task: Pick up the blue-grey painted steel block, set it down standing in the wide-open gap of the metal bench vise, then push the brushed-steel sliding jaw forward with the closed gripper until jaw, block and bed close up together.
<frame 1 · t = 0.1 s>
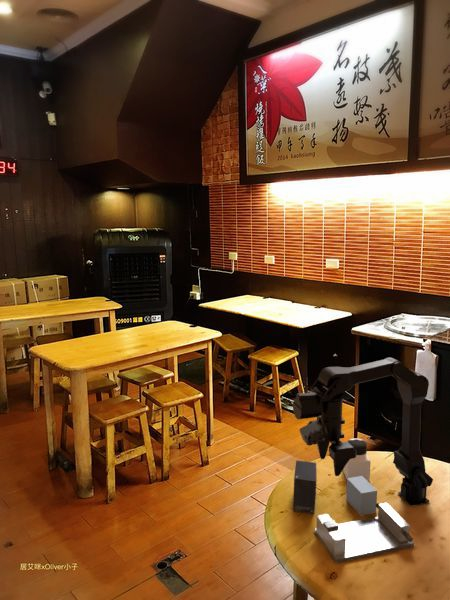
hand: (329, 467, 132), 14 cm above the table, fingers open, 9 cm apart
sliding jaw: (393, 521, 126), point 3 cm above the table, slide at 0.0 cm
medicine bottle: (355, 476, 155), on the table
small box: (304, 503, 141), on the table
vise: (363, 539, 125), on the table
block: (360, 506, 139), on the table
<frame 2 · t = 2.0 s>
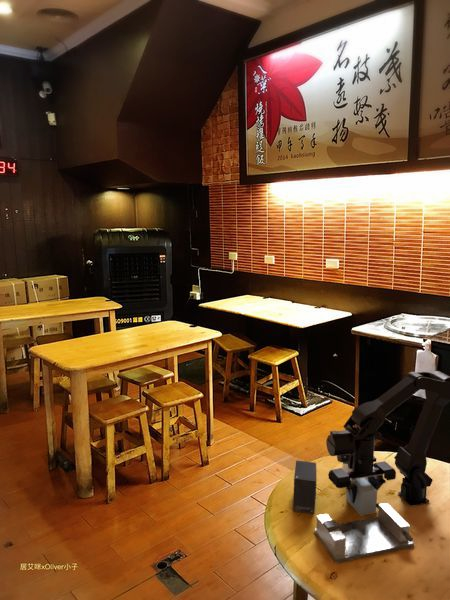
hand: (361, 501, 138), 2 cm above the table, fingers closed on block, 5 cm apart
block: (360, 506, 139), on the table, touching gripper
everything else where it was.
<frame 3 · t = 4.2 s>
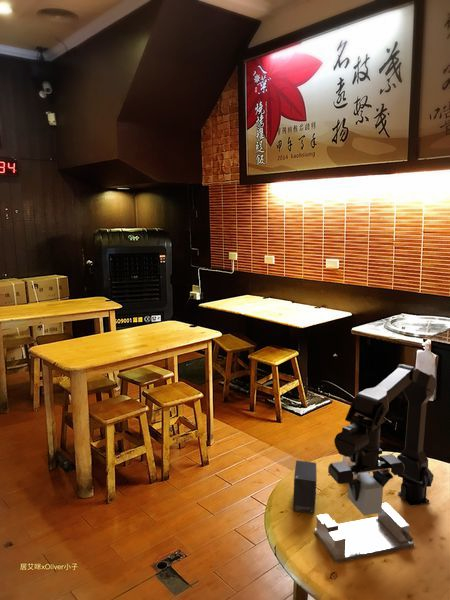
hand: (364, 498, 123), 11 cm above the table, fingers closed on block, 5 cm apart
block: (364, 504, 123), point 10 cm above the table, touching gripper
everything else where it was.
when the fingers open (4 cm above the table, at t = 5.9 s): block stays where it is, resting on vise.
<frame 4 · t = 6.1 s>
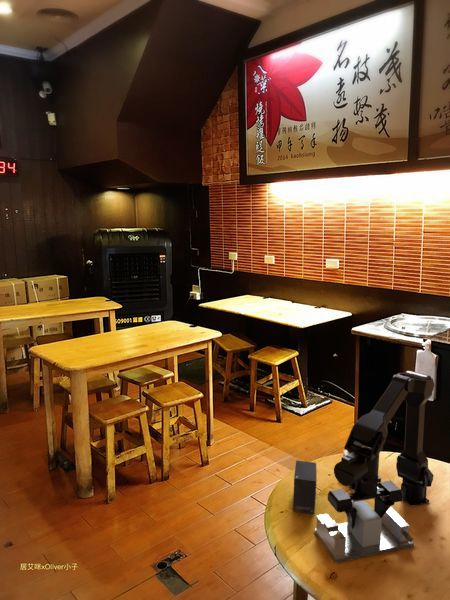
hand: (363, 525, 124), 4 cm above the table, fingers open, 7 cm apart
block: (363, 535, 124), point 1 cm above the table, touching vise
everything else where it was.
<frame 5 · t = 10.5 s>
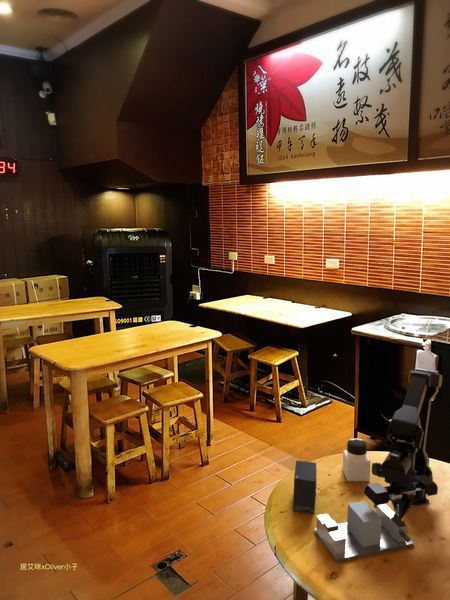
hand: (399, 518, 126), 4 cm above the table, fingers closed
sliding jaw: (391, 522, 126), point 3 cm above the table, slide at 0.7 cm, touching gripper
everything else where it was.
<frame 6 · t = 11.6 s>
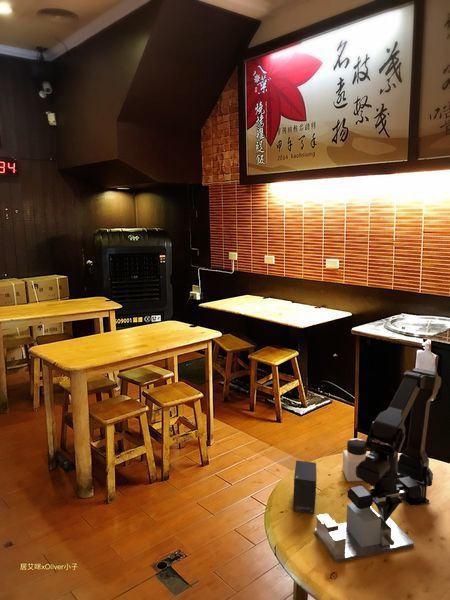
hand: (383, 521, 125), 4 cm above the table, fingers closed
sliding jaw: (375, 525, 125), point 3 cm above the table, slide at 5.2 cm, touching block, gripper
block: (362, 535, 124), point 1 cm above the table, touching sliding jaw
everything else where it was.
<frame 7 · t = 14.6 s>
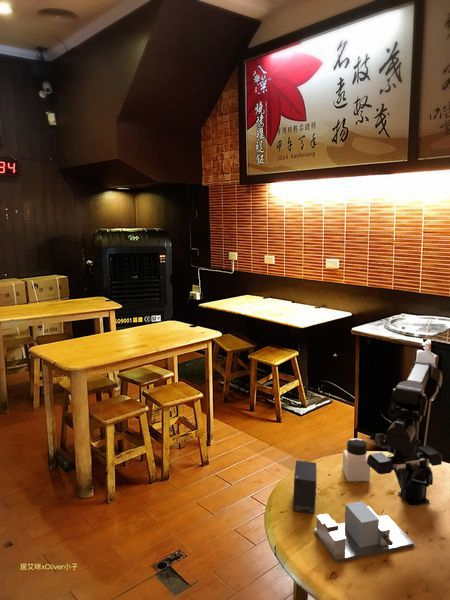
hand: (402, 489, 125), 12 cm above the table, fingers closed
sliding jaw: (374, 525, 125), point 3 cm above the table, slide at 5.6 cm, touching block
block: (360, 535, 124), point 1 cm above the table, touching sliding jaw, vise
everything else where it was.
at the end: block inside the target area (1.2 cm from its centre), point 1.0 cm above the table; block tilted 0°; sliding jaw slide at 5.6 cm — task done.
